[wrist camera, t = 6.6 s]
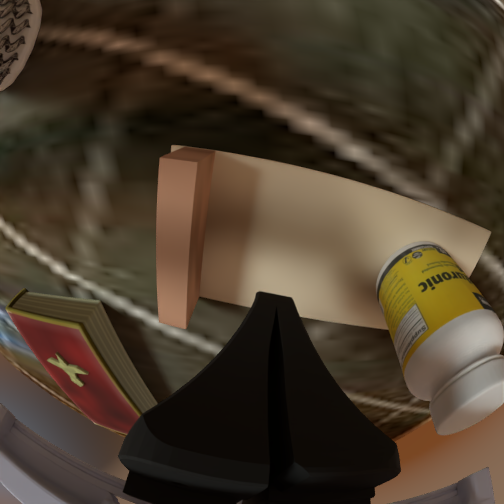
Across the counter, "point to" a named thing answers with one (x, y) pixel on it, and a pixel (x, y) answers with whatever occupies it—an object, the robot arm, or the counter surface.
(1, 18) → the decorative candle
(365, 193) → the strip
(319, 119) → the counter surface
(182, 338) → the counter surface
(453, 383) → the supplement bottle
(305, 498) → the robot arm
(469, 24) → the counter surface
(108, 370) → the hardcover book
